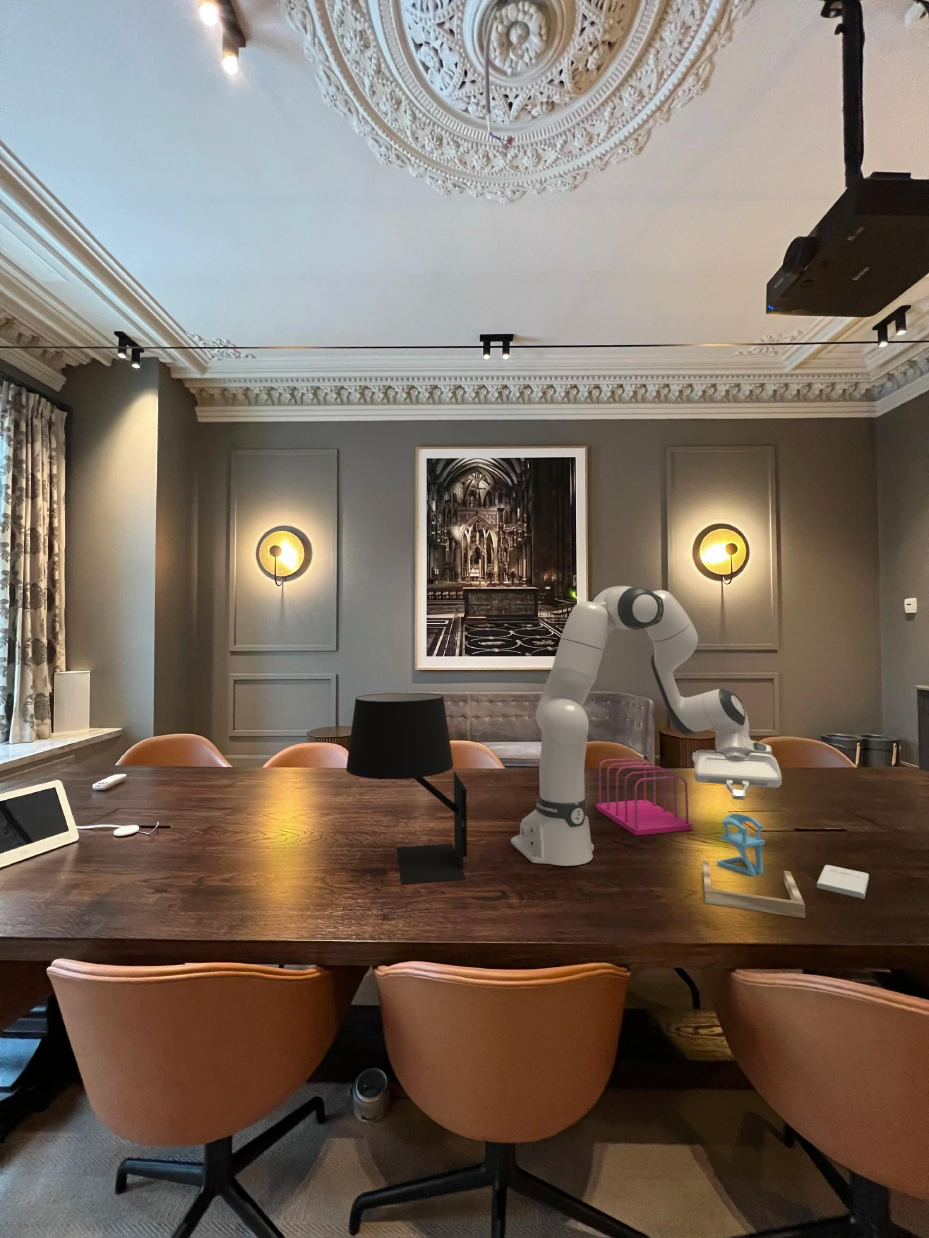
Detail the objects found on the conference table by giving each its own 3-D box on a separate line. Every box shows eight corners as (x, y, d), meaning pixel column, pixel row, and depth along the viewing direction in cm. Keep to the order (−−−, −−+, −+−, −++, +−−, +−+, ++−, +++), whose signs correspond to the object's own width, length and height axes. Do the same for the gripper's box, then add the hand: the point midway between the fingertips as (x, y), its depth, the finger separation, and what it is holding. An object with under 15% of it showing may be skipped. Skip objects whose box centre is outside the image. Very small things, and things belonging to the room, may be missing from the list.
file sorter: (646, 805, 178) (644, 756, 179) (692, 831, 153) (691, 774, 154) (595, 809, 175) (594, 758, 175) (635, 836, 150) (634, 777, 151)
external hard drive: (816, 889, 117) (825, 870, 127) (864, 901, 112) (869, 880, 122) (816, 882, 117) (824, 863, 127) (864, 893, 112) (869, 872, 122)
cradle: (703, 871, 126) (702, 860, 126) (790, 883, 120) (790, 871, 120) (705, 902, 111) (705, 890, 111) (805, 918, 104) (804, 904, 105)
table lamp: (473, 882, 122) (471, 700, 123) (343, 893, 117) (343, 704, 119) (456, 841, 147) (454, 690, 149) (348, 849, 142) (348, 693, 144)
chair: (747, 879, 122) (746, 824, 122) (716, 865, 130) (715, 813, 130) (771, 873, 125) (770, 819, 126) (740, 859, 133) (739, 809, 133)
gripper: (691, 742, 149) (693, 788, 139) (777, 746, 141) (786, 795, 132) (692, 756, 153) (694, 801, 143) (776, 760, 145) (783, 808, 136)
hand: (738, 798), depth 138 cm, fingers closed
